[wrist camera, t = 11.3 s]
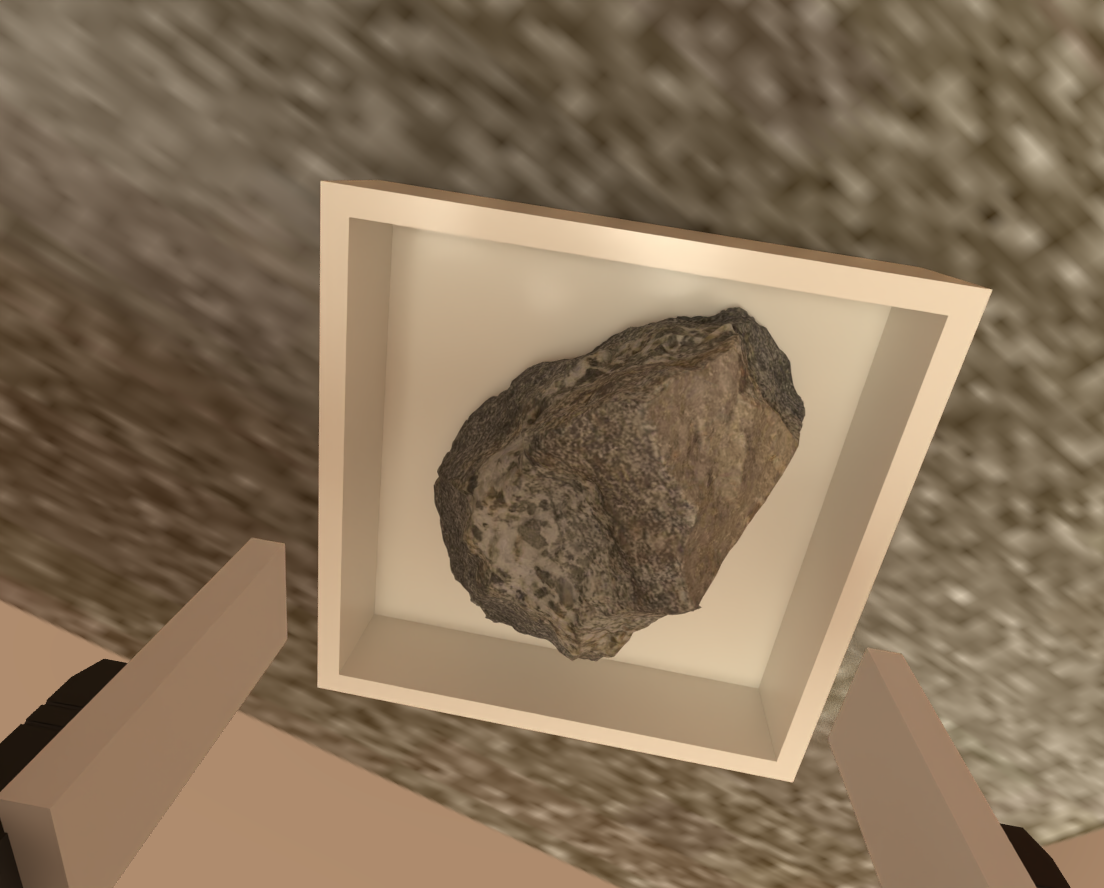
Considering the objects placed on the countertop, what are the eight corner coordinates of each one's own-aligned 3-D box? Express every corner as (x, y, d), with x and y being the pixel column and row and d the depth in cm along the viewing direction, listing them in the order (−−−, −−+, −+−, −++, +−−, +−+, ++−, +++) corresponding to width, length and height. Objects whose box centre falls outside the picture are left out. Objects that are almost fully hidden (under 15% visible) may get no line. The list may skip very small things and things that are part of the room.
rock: (580, 632, 26) (563, 765, 20) (401, 507, 25) (326, 608, 19) (829, 379, 21) (906, 454, 15) (622, 210, 20) (616, 218, 14)
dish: (362, 614, 28) (317, 687, 24) (379, 179, 21) (320, 180, 17) (769, 692, 27) (792, 782, 23) (921, 267, 21) (992, 289, 17)
